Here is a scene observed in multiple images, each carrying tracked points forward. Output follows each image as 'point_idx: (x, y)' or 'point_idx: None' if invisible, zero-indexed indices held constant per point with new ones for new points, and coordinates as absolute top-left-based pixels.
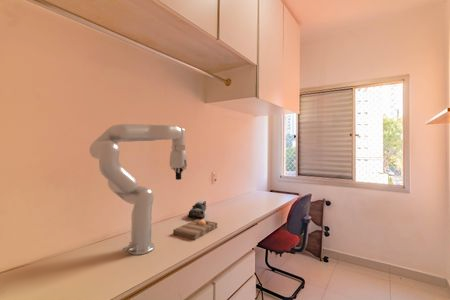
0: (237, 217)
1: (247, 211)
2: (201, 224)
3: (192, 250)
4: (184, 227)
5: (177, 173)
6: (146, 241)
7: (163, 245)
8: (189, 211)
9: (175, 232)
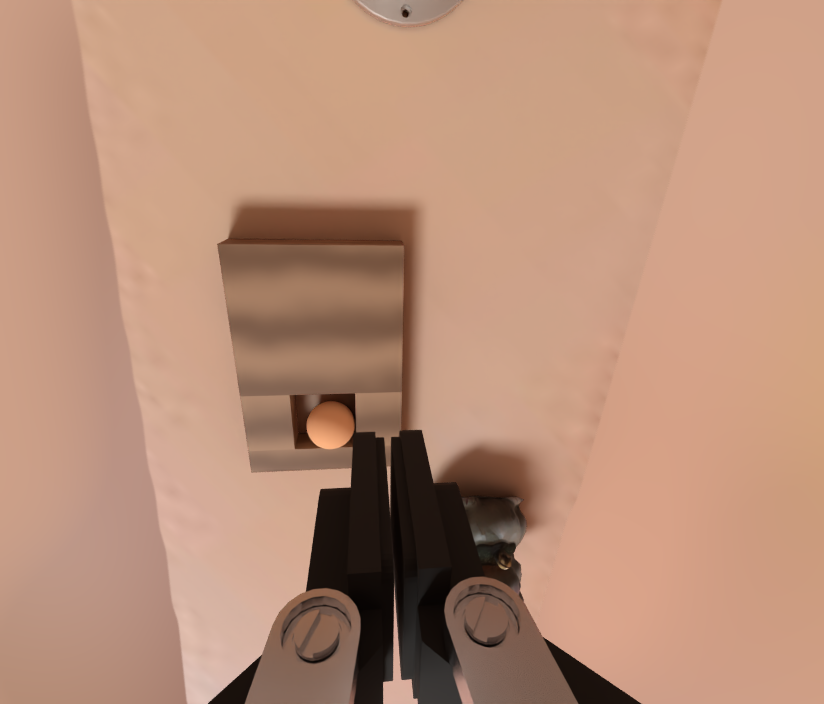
0: (270, 615)
1: None
2: (317, 409)
3: (118, 100)
4: (369, 314)
5: (359, 557)
6: None
7: (329, 66)
8: (510, 518)
9: (383, 242)
